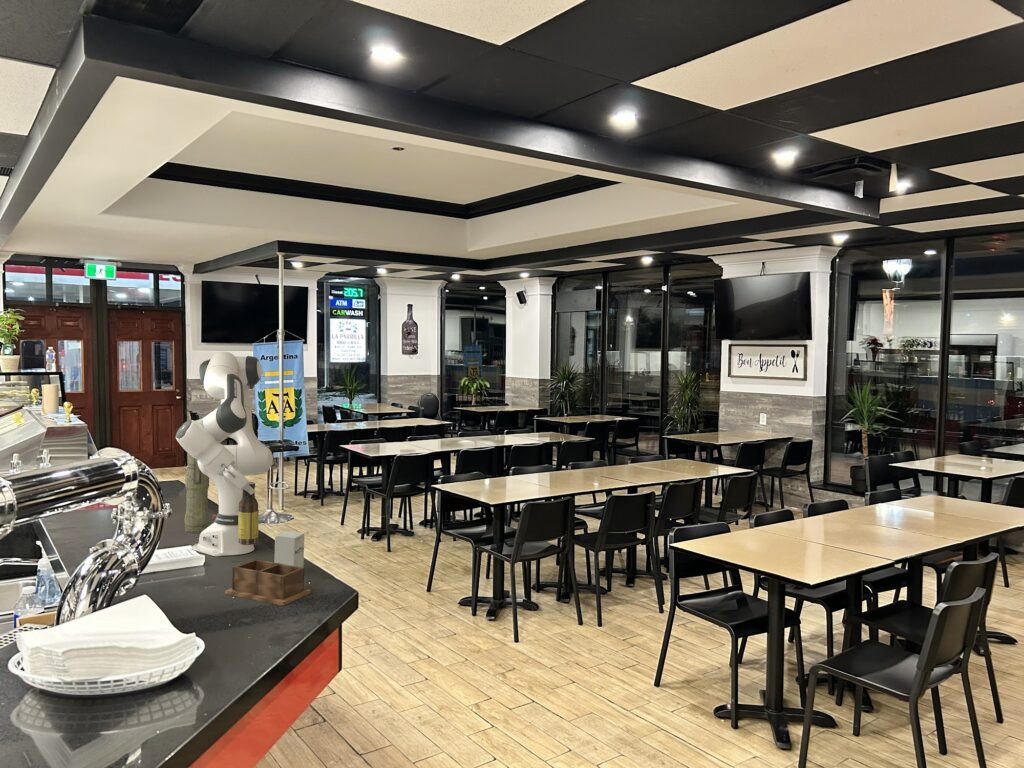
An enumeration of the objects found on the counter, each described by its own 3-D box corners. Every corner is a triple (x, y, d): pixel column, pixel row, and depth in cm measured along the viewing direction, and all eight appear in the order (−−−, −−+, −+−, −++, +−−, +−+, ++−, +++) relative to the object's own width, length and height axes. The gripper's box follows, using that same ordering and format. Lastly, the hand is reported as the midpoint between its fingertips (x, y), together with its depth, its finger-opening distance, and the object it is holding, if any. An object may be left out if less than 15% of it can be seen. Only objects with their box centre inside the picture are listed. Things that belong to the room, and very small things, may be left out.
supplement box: (293, 575, 244) (294, 537, 244) (273, 573, 246) (274, 535, 245) (304, 569, 251) (305, 532, 251) (284, 566, 253) (285, 530, 252)
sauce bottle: (255, 539, 244) (257, 480, 243) (260, 544, 239) (262, 484, 238) (235, 541, 241) (237, 481, 240) (239, 546, 235) (241, 485, 234)
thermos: (186, 534, 289) (187, 446, 287) (183, 527, 299) (184, 442, 298) (210, 532, 293) (212, 445, 292) (206, 526, 304) (208, 441, 302)
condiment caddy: (224, 593, 224) (225, 567, 223) (254, 581, 236) (254, 557, 235) (283, 605, 216) (283, 579, 215) (310, 592, 228) (311, 567, 227)
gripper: (232, 460, 226) (264, 490, 231) (224, 450, 244) (254, 478, 249) (216, 475, 224) (249, 505, 229) (209, 464, 242) (239, 491, 247)
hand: (251, 491), depth 239 cm, fingers closed on sauce bottle, 4 cm apart
